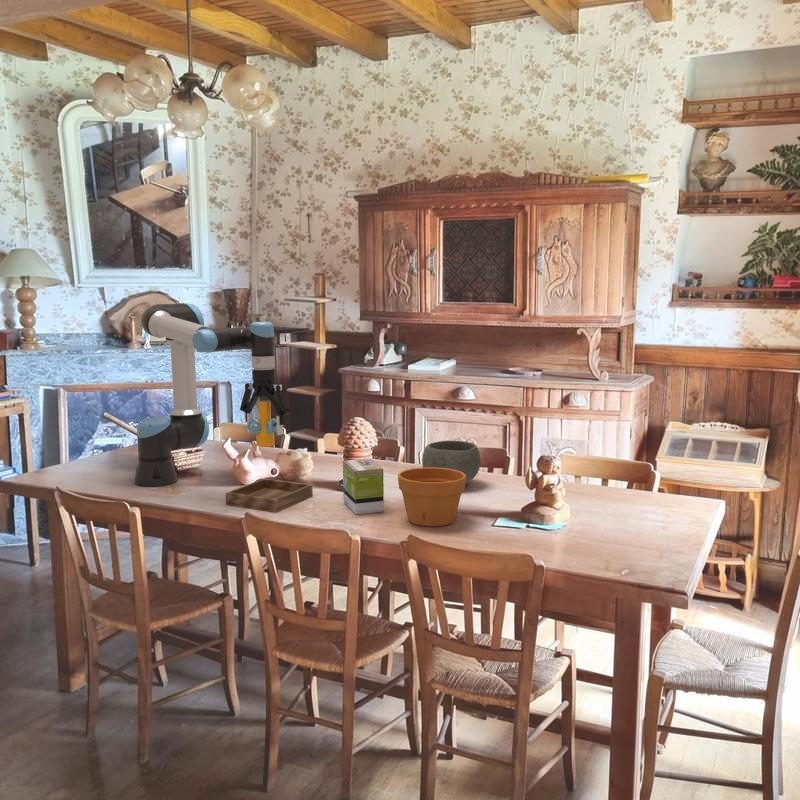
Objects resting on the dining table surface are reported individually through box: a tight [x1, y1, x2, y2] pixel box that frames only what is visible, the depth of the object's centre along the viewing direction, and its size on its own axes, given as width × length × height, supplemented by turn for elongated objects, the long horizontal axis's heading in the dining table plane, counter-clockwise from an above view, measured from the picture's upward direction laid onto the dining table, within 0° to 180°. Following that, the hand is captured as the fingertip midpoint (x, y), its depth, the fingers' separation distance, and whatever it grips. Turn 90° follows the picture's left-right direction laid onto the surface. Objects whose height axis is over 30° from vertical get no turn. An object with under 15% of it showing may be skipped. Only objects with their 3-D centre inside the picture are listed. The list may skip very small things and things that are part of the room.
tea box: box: [342, 458, 385, 515], centre depth 274 cm, size 15×10×15 cm, turn 19°
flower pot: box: [397, 467, 466, 528], centre depth 260 cm, size 21×21×15 cm
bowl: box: [421, 440, 482, 485], centre depth 302 cm, size 21×21×15 cm
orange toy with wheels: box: [246, 400, 277, 448], centre depth 281 cm, size 12×10×15 cm
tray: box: [225, 477, 314, 513], centre depth 283 cm, size 20×22×4 cm
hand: (265, 433), depth 281 cm, fingers closed on orange toy with wheels, 11 cm apart
